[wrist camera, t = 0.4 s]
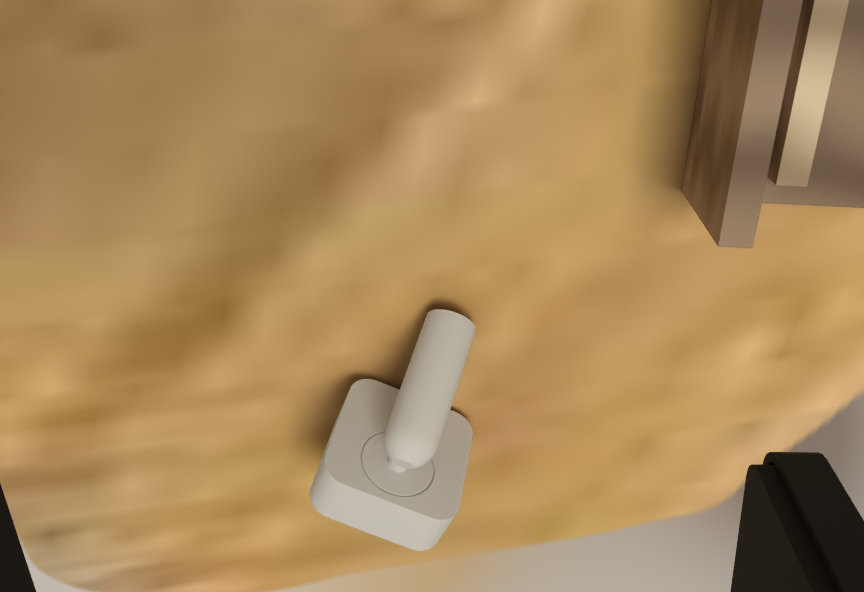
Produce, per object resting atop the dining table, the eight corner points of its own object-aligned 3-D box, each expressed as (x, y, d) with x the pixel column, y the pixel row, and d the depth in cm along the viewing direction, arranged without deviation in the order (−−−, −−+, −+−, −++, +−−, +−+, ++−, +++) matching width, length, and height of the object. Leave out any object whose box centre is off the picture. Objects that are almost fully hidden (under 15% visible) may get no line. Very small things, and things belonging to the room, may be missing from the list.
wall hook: (524, 325, 47) (506, 453, 39) (460, 431, 54) (434, 559, 46) (397, 274, 47) (353, 393, 39) (348, 386, 53) (302, 508, 45)
